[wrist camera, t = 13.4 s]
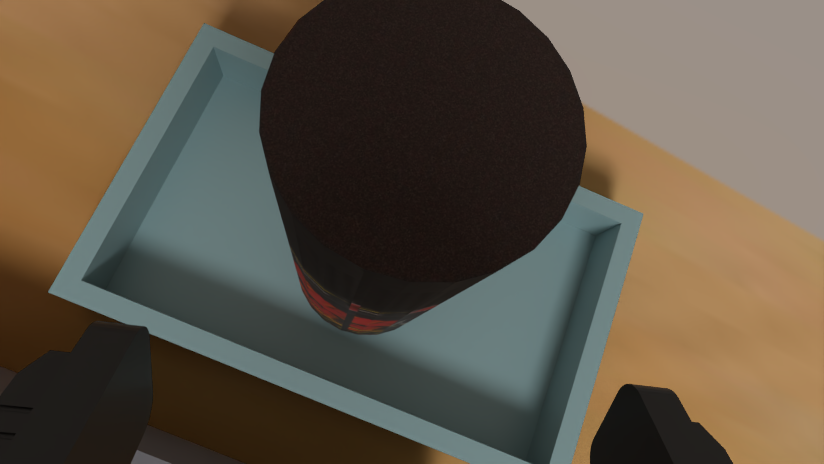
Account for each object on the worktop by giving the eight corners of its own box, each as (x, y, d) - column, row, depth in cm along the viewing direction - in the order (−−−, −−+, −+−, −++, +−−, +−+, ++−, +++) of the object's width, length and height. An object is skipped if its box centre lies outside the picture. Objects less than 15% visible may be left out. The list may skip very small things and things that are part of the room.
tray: (609, 230, 27) (643, 213, 25) (532, 484, 24) (560, 499, 21) (217, 60, 27) (204, 23, 24) (82, 301, 23) (47, 292, 20)
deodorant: (290, 206, 25) (244, -21, 10) (425, 193, 26) (552, -30, 11) (305, 344, 24) (275, 305, 9) (445, 325, 25) (617, 261, 10)
